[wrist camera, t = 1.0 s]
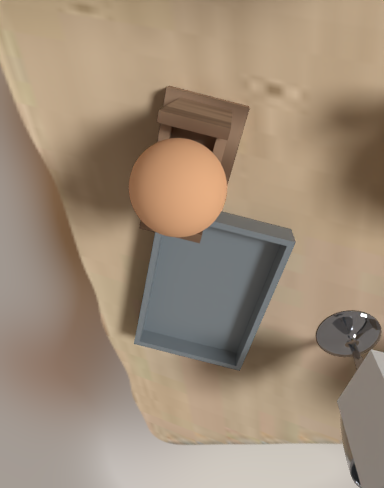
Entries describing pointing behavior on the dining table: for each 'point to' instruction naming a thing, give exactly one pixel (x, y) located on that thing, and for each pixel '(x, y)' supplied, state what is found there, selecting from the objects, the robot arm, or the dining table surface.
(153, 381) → the dining table surface
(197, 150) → the ball
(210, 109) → the stand
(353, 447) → the robot arm
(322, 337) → the silver goblet
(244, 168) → the dining table surface
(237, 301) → the tray
